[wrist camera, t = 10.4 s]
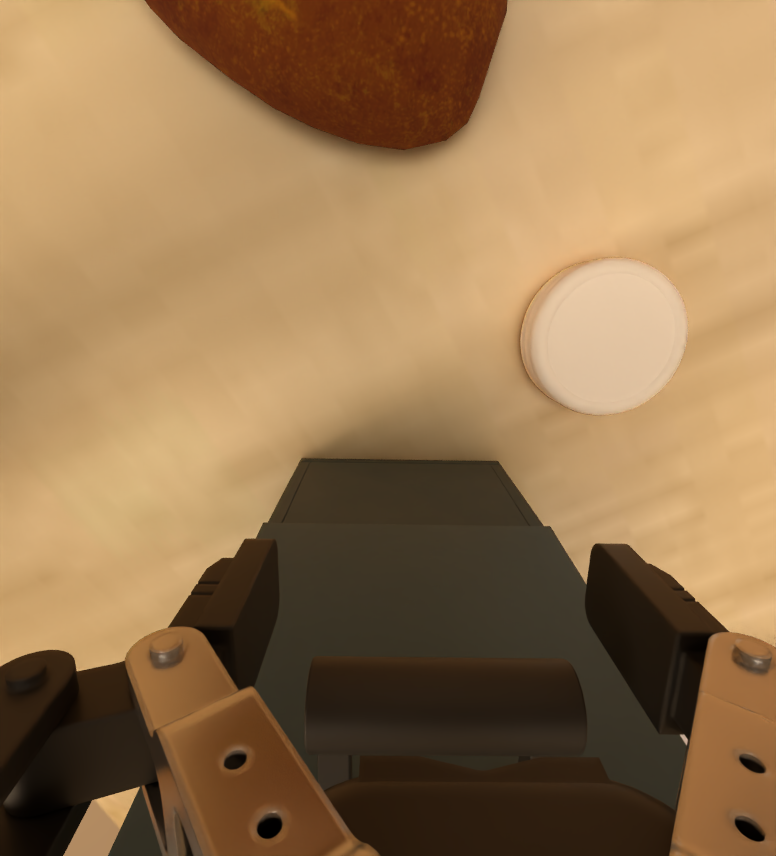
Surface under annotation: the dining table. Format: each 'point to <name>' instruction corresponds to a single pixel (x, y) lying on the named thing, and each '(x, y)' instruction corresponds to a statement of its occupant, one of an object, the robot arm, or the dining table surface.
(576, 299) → the white round disc
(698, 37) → the dining table surface
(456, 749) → the lid
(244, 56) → the bread
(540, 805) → the robot arm
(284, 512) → the cool chest
